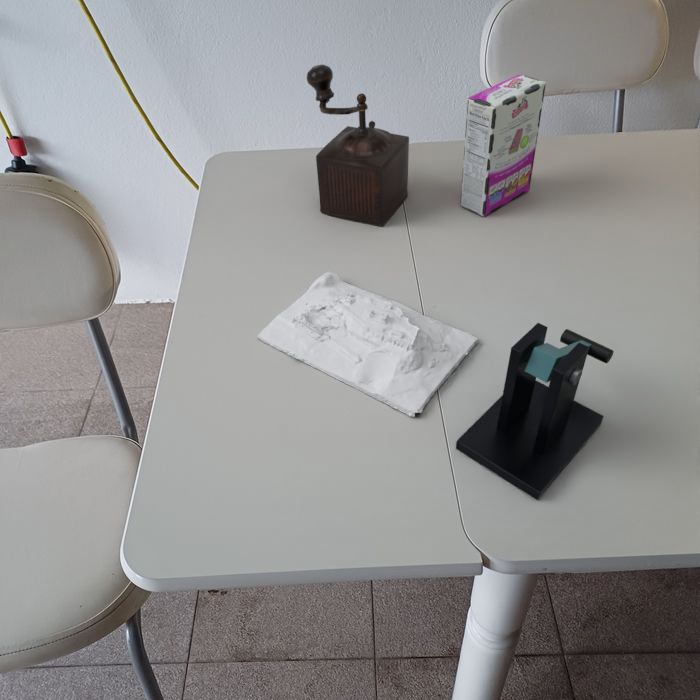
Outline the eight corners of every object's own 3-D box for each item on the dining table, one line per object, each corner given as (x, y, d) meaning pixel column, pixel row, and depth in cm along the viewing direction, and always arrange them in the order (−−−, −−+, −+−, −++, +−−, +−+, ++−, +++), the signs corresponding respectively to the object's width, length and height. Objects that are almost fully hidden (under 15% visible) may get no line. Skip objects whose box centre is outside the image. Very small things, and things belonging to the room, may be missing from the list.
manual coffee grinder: (411, 192, 99) (415, 72, 87) (383, 228, 92) (383, 102, 80) (322, 174, 104) (313, 58, 92) (288, 207, 97) (274, 86, 85)
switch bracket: (522, 381, 69) (540, 293, 61) (601, 423, 64) (632, 334, 56) (455, 448, 62) (466, 360, 54) (537, 500, 58) (562, 412, 50)
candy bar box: (503, 180, 101) (518, 72, 90) (530, 191, 98) (549, 81, 87) (456, 206, 96) (466, 95, 85) (483, 218, 93) (497, 105, 82)
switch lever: (561, 344, 66) (570, 323, 66) (607, 366, 64) (617, 345, 63) (510, 364, 57) (520, 340, 56) (561, 390, 55) (572, 365, 54)
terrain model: (318, 283, 85) (314, 250, 81) (486, 328, 75) (489, 293, 72) (244, 359, 74) (236, 325, 71) (428, 423, 65) (429, 387, 61)
